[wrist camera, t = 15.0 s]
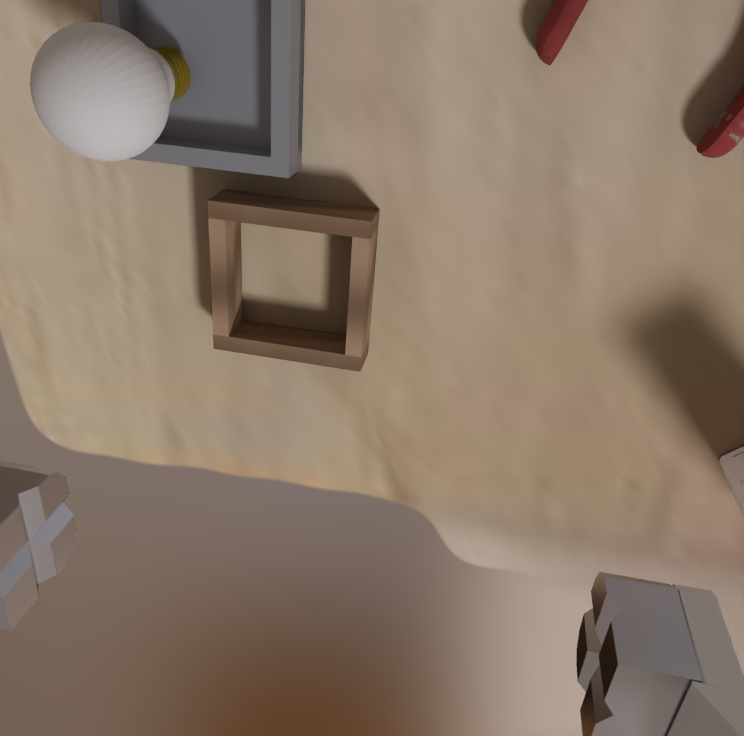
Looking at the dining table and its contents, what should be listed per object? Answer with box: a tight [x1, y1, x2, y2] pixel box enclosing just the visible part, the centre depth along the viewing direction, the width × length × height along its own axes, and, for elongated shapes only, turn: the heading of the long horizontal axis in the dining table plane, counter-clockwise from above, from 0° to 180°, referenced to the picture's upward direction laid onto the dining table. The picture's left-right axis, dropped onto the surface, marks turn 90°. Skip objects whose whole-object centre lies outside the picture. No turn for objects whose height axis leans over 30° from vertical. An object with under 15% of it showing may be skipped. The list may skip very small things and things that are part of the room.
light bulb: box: [30, 22, 191, 161], centre depth 33 cm, size 6×6×10 cm
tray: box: [99, 0, 305, 178], centre depth 37 cm, size 10×10×2 cm
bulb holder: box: [207, 190, 379, 371], centre depth 41 cm, size 9×9×2 cm
